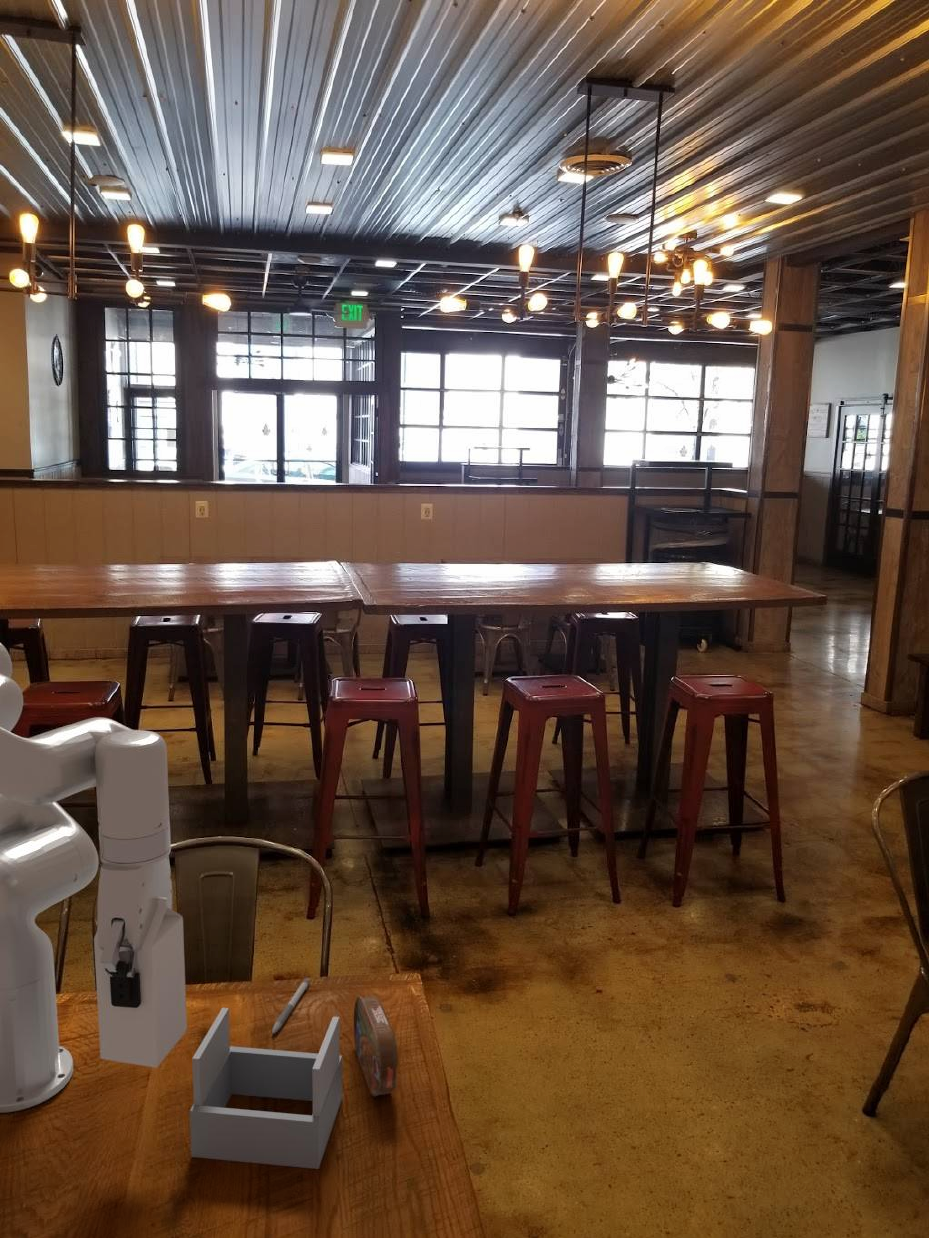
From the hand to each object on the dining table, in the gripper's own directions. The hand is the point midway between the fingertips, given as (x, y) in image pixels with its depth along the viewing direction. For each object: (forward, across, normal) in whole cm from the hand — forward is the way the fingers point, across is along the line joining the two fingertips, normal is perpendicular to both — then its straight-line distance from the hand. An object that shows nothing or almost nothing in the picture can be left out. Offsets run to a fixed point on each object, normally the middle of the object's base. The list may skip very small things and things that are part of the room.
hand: (142, 984), depth 111 cm
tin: (+20, -15, +24) cm, 35 cm away
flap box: (+20, -3, +14) cm, 24 cm away
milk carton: (+8, 0, 0) cm, 8 cm away
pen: (+20, -27, +10) cm, 35 cm away
